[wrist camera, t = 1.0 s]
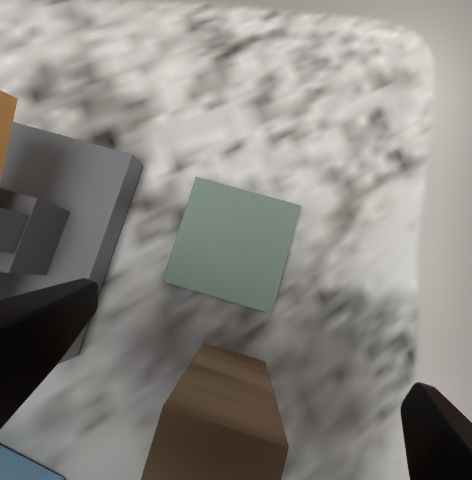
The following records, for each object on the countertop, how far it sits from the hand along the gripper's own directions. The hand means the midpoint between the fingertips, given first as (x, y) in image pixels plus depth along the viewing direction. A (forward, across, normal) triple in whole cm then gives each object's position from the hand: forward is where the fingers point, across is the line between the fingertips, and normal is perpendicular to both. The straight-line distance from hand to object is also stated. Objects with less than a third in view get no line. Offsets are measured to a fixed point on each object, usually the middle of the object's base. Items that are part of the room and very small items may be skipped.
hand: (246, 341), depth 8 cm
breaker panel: (+10, +15, +5) cm, 19 cm away
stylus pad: (+12, +2, +3) cm, 12 cm away
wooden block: (+7, 0, +10) cm, 12 cm away
